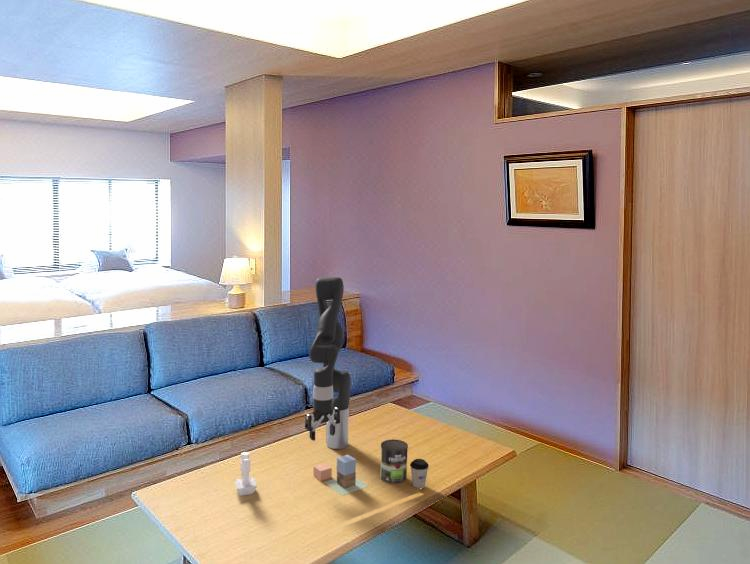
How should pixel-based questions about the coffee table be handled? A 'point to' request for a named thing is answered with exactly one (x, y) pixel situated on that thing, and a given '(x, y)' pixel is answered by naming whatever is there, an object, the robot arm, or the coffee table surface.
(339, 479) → the walnut block
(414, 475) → the coffee cup
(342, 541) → the coffee table surface
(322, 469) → the terracotta block
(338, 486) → the baseplate
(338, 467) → the slate block
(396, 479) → the coffee can
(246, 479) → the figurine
